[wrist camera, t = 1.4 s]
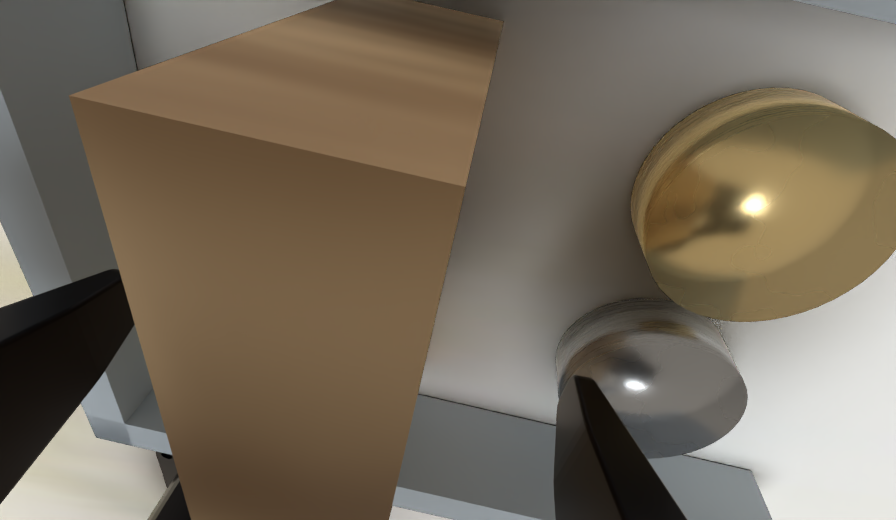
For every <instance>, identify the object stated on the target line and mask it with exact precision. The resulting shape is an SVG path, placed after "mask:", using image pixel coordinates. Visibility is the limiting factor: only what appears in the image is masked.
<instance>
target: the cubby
mask: <svg viewBox="0 0 896 520" xmlns="http://www.w3.org/2000/svg"><path fill="white" fill-rule="evenodd" d="M793 1H797V2H802V3H806V4H810V5H815V6H819V7H823V8H828V9H832V10H836V11H841V12H845V13H849V14H854V15H858V16H863V17H867V18H871V19H876V20H880V21H884V22H889V23H893V24H896V0H793ZM136 71H137V68H136V63H135V58H134V53H133V48H132V43H131V38H130V33H129V28H128V22H127V17H126V12H125V7H124V2H123V0H0V222H1V224H2V226H3V229H4V231H5V233H6V235H7V238H8V240H9V242H10V244H11V247H12V249H13V251H14V253H15V256H16V258H17V260H18V262H19V265H20V267H21V269H22V271H23V274H24V276H25V278H26V280H27V283H28V285H29V287H30V289H31V292H32V294H33V296H35V295H38V294H41V293H44V292H47V291H50V290H52V289H55V288H58V287H61V286H64V285H67V284H69V283H72V282H75V281H78V280H81V279H84V278H86V277H89V276H92V275H95V274H98V273H101V272H103V271H106V270H109V269H119V268H118V264H117V261H116V257H115V254H114V251H113V247H112V244H111V240H110V237H109V233H108V230H107V226H106V223H105V219H104V216H103V212H102V209H101V205H100V202H99V199H98V195H97V192H96V188H95V185H94V181H93V178H92V174H91V171H90V167H89V164H88V160H87V157H86V153H85V150H84V146H83V143H82V140H81V136H80V133H79V129H78V126H77V122H76V119H75V115H74V112H73V108H72V105H71V101H70V98H69V95H71V94H74V93H77V92H80V91H83V90H85V89H88V88H91V87H94V86H97V85H99V84H102V83H105V82H108V81H111V80H113V79H116V78H119V77H122V76H125V75H127V74H130V73H133V72H136ZM81 405H82V407H83V409H84V411H85V414H86V416H87V418H88V420H89V423H90V425H91V427H92V429H93V432H94V434H95V436H96V438H100V439H105V440H109V441H113V442H118V443H122V444H126V445H131V446H135V447H139V448H144V449H148V450H152V451H157V452H161V453H165V454H170V455H172V452H171V448H170V445H169V441H168V438H167V434H166V431H165V427H164V424H163V420H162V417H161V414H160V410H159V407H158V403H157V400H156V396H155V393H154V389H153V386H152V382H151V379H150V375H149V372H148V368H147V365H146V361H145V358H144V355H143V351H142V348H141V344H140V341H139V337H138V334H137V330H136V327H135V325H134V327H133V328H132V330H131V331H130V333H129V335H128V336H127V338H126V339H125V341H124V342H123V344H122V346H121V347H120V349H119V350H118V352H117V353H116V355H115V356H114V358H113V360H112V361H111V363H110V364H109V366H108V367H107V369H106V370H105V372H104V373H103V375H102V376H101V378H100V379H99V380H98V382H97V383H96V384H95V386H94V387H93V388H92V390H91V391H90V392H89V393H88V395H87V396H86V397H85V398H84V400H83V401H82V402H81ZM555 437H556V426H553V425H549V424H544V423H540V422H536V421H531V420H527V419H523V418H518V417H514V416H510V415H505V414H501V413H497V412H492V411H488V410H484V409H479V408H475V407H470V406H466V405H462V404H457V403H453V402H449V401H444V400H440V399H436V398H431V397H427V396H423V395H418V396H417V400H416V404H415V409H414V413H413V417H412V422H411V426H410V430H409V435H408V439H407V443H406V448H405V452H404V456H403V461H402V465H401V469H400V473H399V478H398V482H397V486H396V491H395V495H394V499H393V504H392V506H396V507H400V508H405V509H409V510H414V511H418V512H422V513H427V514H431V515H435V516H440V517H444V518H448V519H453V520H555V504H554V483H553V480H554V457H555ZM648 461H649V462H650V464H651V465H652V467H653V468H654V470H655V471H656V473H657V474H658V476H659V477H660V479H661V480H662V482H663V483H664V485H665V486H666V488H667V489H668V491H669V492H670V494H671V495H672V497H673V498H674V500H675V501H676V503H677V504H678V506H679V507H680V509H681V510H682V512H683V513H684V515H685V516H686V518H687V519H688V520H772V518H771V516H770V513H769V511H768V508H767V506H766V504H765V501H764V499H763V497H762V494H761V492H760V490H759V487H758V485H757V483H756V480H755V478H754V475H753V473H752V471H749V470H745V469H740V468H736V467H732V466H727V465H723V464H719V463H714V462H710V461H706V460H701V459H697V458H692V457H688V456H684V455H678V456H672V457H665V458H653V459H648Z"/></svg>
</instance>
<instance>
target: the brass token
mask: <svg viewBox="0 0 896 520" xmlns="http://www.w3.org/2000/svg"><path fill="white" fill-rule="evenodd" d="M631 218H632V222H633V226H634V230H635V232H636V235H637V238H638V240H639V243H640V246H641V248H642V251H643V254H644V256H645V259H646V262H647V264H648V267H649V270H650V272H651V274H652V277H653V279H654V280H655V282H656V283H657V285H658V286H659V288H660V289H661V290H662V291H663V292H664V293H665V294H666V295H667V297H669V298H670V299H671V300H673V301H674V302H675V303H676V304H678V305H680V306H681V307H683V308H685V309H687V310H689V311H691V312H694V313H696V314H698V315H702V316H705V317H709V318H712V319H718V320H724V321H736V322H755V321H765V320H772V319H778V318H783V317H788V316H791V315H795V314H799V313H802V312H805V311H808V310H810V309H813V308H816V307H818V306H821V305H823V304H825V303H827V302H830V301H832V300H834V299H836V298H837V297H839V296H841V295H843V294H845V293H846V292H848V291H850V290H851V289H853V288H854V287H856V286H857V285H859V284H860V283H862V282H863V281H864V280H865V279H867V278H868V277H869V276H870V275H872V274H873V273H874V272H875V271H876V270H877V269H878V268H879V267H880V266H881V265H882V264H883V263H884V262H885V261H886V260H887V259H888V258H889V257H890V256H891V255H892V253H893V252H894V251H895V250H896V139H895V138H894V137H892V136H891V135H890V134H888V133H887V132H886V131H884V130H883V129H881V128H879V127H877V126H875V125H873V124H872V123H870V122H868V121H866V120H864V119H863V118H861V117H859V116H857V115H855V114H854V113H852V112H850V111H848V110H846V109H845V108H843V107H841V106H839V105H837V104H835V103H834V102H832V101H830V100H828V99H826V98H824V97H822V96H820V95H817V94H814V93H811V92H808V91H804V90H798V89H792V88H763V89H754V90H750V91H745V92H740V93H736V94H733V95H730V96H727V97H724V98H721V99H719V100H717V101H715V102H712V103H710V104H708V105H706V106H704V107H702V108H701V109H699V110H697V111H695V112H694V113H692V114H690V115H689V116H687V117H686V118H685V119H683V120H682V121H681V122H679V123H678V124H676V125H675V126H674V127H673V128H672V129H671V130H670V131H669V132H668V133H666V134H665V135H664V136H663V137H662V139H661V140H660V141H659V142H658V143H657V144H656V145H655V146H654V148H653V149H652V151H651V152H650V153H649V155H648V156H647V158H646V159H645V161H644V163H643V165H642V166H641V168H640V170H639V172H638V175H637V178H636V180H635V183H634V187H633V191H632V196H631Z"/></svg>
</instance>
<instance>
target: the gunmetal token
mask: <svg viewBox="0 0 896 520" xmlns="http://www.w3.org/2000/svg"><path fill="white" fill-rule="evenodd" d="M556 371H557V384H558V397H559V399H560V397H561V395H562V393H563V391H564V389H565V387H566V385H567V383H568V381H569V379H570V378H571V376H573V375H581V376H585V377H589V378H592V379H593V380H595V382H596V383H597V384H598V386H599V387H600V389H601V390H602V392H603V393H604V395H605V396H606V398H607V399H608V401H609V402H610V404H611V405H612V407H613V408H614V410H615V411H616V413H617V414H618V416H619V417H620V419H621V420H622V422H623V423H624V425H625V426H626V428H627V429H628V431H629V432H630V434H631V435H632V437H633V438H634V440H635V441H636V443H637V444H638V446H639V447H640V449H641V450H642V452H643V453H644V455H645V456H646V458H647V459H653V458H665V457H672V456H678V455H682V454H686V453H690V452H693V451H696V450H699V449H701V448H704V447H706V446H708V445H710V444H712V443H714V442H715V441H717V440H719V439H720V438H722V437H723V436H725V435H726V434H727V433H728V432H730V431H731V430H732V429H733V428H734V427H735V426H736V424H737V423H738V422H739V421H740V419H741V417H742V415H743V414H744V411H745V408H746V405H747V389H746V386H745V383H744V381H743V379H742V377H741V375H740V373H739V371H738V368H737V366H736V364H735V362H734V360H733V358H732V356H731V354H730V352H729V350H728V348H727V346H726V344H725V342H724V340H723V338H722V336H721V334H720V332H719V330H718V329H717V327H716V326H715V325H714V324H713V322H712V321H711V320H710V319H709V318H707V317H705V316H702V315H698V314H696V313H694V312H691V311H689V310H687V309H685V308H683V307H681V306H680V305H678V304H676V303H675V302H674V301H668V300H663V299H650V298H649V299H632V300H625V301H620V302H615V303H612V304H609V305H606V306H603V307H600V308H598V309H596V310H594V311H592V312H590V313H588V314H586V315H585V316H583V317H582V318H580V319H579V320H578V321H576V322H575V323H574V324H573V325H572V326H571V327H570V328H569V329H568V330H567V332H566V333H565V334H564V335H563V337H562V339H561V341H560V343H559V345H558V348H557V352H556Z"/></svg>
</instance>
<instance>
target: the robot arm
mask: <svg viewBox="0 0 896 520" xmlns="http://www.w3.org/2000/svg"><path fill="white" fill-rule="evenodd" d="M134 325H135V323H134V320H133V316H132V313H131V309H130V306H129V303H128V299H127V296H126V292H125V289H124V285H123V282H122V278H121V275H120V271H119V269H109V270H106V271H103V272H101V273H98V274H95V275H92V276H89V277H86V278H84V279H81V280H78V281H75V282H72V283H69V284H67V285H64V286H61V287H58V288H55V289H52V290H50V291H47V292H44V293H41V294H38V295H35V296H33V297H30V298H27V299H24V300H21V301H19V302H16V303H13V304H10V305H7V306H4V307H2V308H0V504H1V503H2V501H3V500H4V499H5V498H6V496H7V495H8V494H9V493H10V491H11V490H12V489H13V488H14V486H15V485H16V484H17V483H18V481H19V480H20V479H21V478H22V476H23V475H24V474H25V472H26V471H27V470H28V469H29V467H30V466H31V465H32V464H33V462H34V461H35V460H36V459H37V457H38V456H39V455H40V454H41V452H42V451H43V450H44V449H45V447H46V446H47V445H48V444H49V442H50V441H51V440H52V439H53V437H54V436H55V435H56V434H57V432H58V431H59V430H60V428H61V427H62V426H63V425H64V423H65V422H66V421H67V420H68V418H69V417H70V416H71V415H72V413H73V412H74V411H75V410H76V408H77V407H78V406H79V405H80V403H81V402H82V401H83V400H84V398H85V397H86V396H87V395H88V393H89V392H90V391H91V390H92V388H93V387H94V386H95V384H96V383H97V382H98V380H99V379H100V378H101V376H102V375H103V373H104V372H105V370H106V369H107V367H108V366H109V364H110V363H111V361H112V360H113V358H114V356H115V355H116V353H117V352H118V350H119V349H120V347H121V346H122V344H123V342H124V341H125V339H126V338H127V336H128V335H129V333H130V331H131V330H132V328H133V327H134ZM156 455H157V458H158V461H159V464H160V467H161V470H162V473H163V476H164V480H165V483H166V486H167V490H166V491H165V493H164V494H163V496H162V498H161V499H160V501H159V502H158V504H157V505H156V507H155V509H154V510H153V512H152V513H151V515H150V516H149V518H148V519H147V520H191V518H190V514H189V511H188V507H187V504H186V500H185V497H184V493H183V490H182V486H181V483H180V479H179V476H178V472H177V469H176V466H175V462H174V459H173V455H170V454H165V453H161V452H157V451H156ZM553 483H554V504H555V520H688V519H687V518H686V516H685V515H684V513H683V512H682V510H681V509H680V507H679V506H678V504H677V503H676V501H675V500H674V498H673V497H672V495H671V494H670V492H669V491H668V489H667V488H666V486H665V485H664V483H663V482H662V480H661V479H660V477H659V476H658V474H657V473H656V471H655V470H654V468H653V467H652V465H651V464H650V462H649V461H648V459H647V458H646V456H645V455H644V453H643V452H642V450H641V449H640V447H639V446H638V444H637V443H636V441H635V440H634V438H633V437H632V435H631V434H630V432H629V431H628V429H627V428H626V426H625V425H624V423H623V422H622V420H621V419H620V417H619V416H618V414H617V413H616V411H615V410H614V408H613V407H612V405H611V404H610V402H609V401H608V399H607V398H606V396H605V395H604V393H603V392H602V390H601V389H600V387H599V386H598V384H597V383H596V382H595V380H593V379H592V378H589V377H585V376H581V375H573V376H571V378H570V379H569V381H568V383H567V385H566V387H565V389H564V391H563V393H562V395H561V397H560V399H559V402H558V406H557V418H556V437H555V457H554V480H553Z"/></svg>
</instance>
